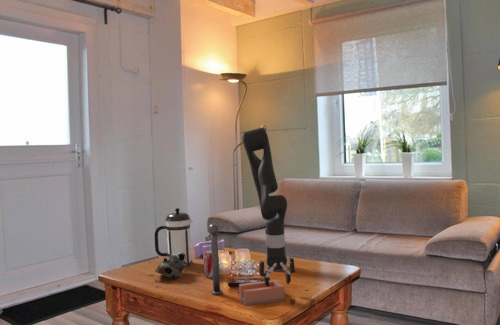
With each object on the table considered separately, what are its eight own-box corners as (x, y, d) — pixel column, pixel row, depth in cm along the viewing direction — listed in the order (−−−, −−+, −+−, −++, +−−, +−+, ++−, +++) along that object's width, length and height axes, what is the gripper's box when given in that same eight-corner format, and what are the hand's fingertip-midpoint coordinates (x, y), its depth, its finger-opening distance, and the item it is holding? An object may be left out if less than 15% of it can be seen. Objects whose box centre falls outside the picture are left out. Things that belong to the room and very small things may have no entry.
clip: (212, 250, 261) (212, 238, 261) (229, 251, 254) (229, 240, 254) (190, 257, 244) (190, 245, 244) (207, 260, 237) (207, 247, 237)
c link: (277, 290, 181) (276, 279, 181) (284, 298, 171) (284, 286, 171) (239, 295, 177) (239, 284, 177) (245, 303, 168) (244, 291, 167)
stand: (221, 291, 185) (217, 222, 183) (223, 294, 180) (219, 224, 179) (210, 292, 183) (207, 223, 182) (212, 295, 179) (209, 225, 178)
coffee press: (181, 258, 242) (178, 205, 241) (200, 263, 231) (197, 207, 230) (155, 266, 230) (152, 209, 229) (173, 271, 219) (170, 211, 218)
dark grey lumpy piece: (160, 272, 217) (172, 246, 219) (182, 282, 214) (193, 256, 217) (150, 272, 202) (163, 244, 205) (173, 283, 200) (186, 254, 202)
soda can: (217, 278, 202) (216, 253, 202) (202, 278, 204) (201, 253, 203) (221, 274, 209) (220, 249, 209) (207, 273, 211) (206, 249, 210)
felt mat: (275, 290, 182) (275, 289, 182) (285, 300, 170) (284, 299, 170) (238, 295, 178) (238, 294, 178) (245, 305, 166) (245, 304, 166)
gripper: (289, 241, 180) (291, 279, 181) (256, 244, 177) (258, 284, 178) (295, 245, 173) (297, 285, 174) (261, 248, 170) (263, 289, 170)
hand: (277, 284), depth 176 cm, fingers open, 8 cm apart
